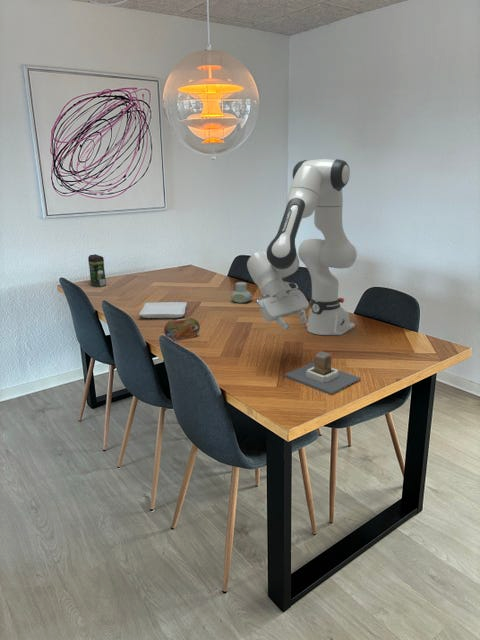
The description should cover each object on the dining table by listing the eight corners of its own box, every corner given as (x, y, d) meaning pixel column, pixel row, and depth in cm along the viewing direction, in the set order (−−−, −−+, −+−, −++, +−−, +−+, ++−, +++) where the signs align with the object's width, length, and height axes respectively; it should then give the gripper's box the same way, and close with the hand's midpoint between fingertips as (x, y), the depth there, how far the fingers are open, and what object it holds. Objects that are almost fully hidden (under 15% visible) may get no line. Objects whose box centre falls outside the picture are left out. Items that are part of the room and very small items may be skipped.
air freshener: (229, 303, 259) (228, 284, 256) (233, 299, 266) (232, 280, 263) (249, 304, 256) (249, 285, 253) (253, 300, 264) (253, 281, 261)
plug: (321, 372, 171) (322, 350, 169) (330, 376, 168) (331, 354, 166) (313, 375, 168) (314, 353, 166) (323, 379, 166) (324, 357, 163)
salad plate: (187, 307, 253) (187, 301, 252) (184, 320, 233) (184, 313, 232) (145, 308, 253) (145, 302, 252) (139, 321, 232) (138, 314, 231)
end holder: (314, 363, 181) (314, 356, 180) (360, 380, 167) (361, 372, 166) (284, 376, 170) (284, 368, 170) (331, 395, 156) (331, 387, 155)
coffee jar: (89, 285, 301) (85, 254, 295) (101, 283, 306) (98, 253, 300) (95, 288, 294) (92, 256, 288) (108, 285, 299) (105, 255, 293)
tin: (166, 342, 204) (164, 322, 202) (163, 340, 207) (162, 320, 204) (200, 336, 210) (199, 317, 208) (197, 334, 213) (196, 315, 210)
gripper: (259, 293, 167) (280, 327, 163) (299, 282, 180) (319, 314, 176) (250, 303, 172) (270, 336, 168) (290, 292, 185) (309, 323, 181)
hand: (296, 325), depth 172 cm, fingers open, 8 cm apart
